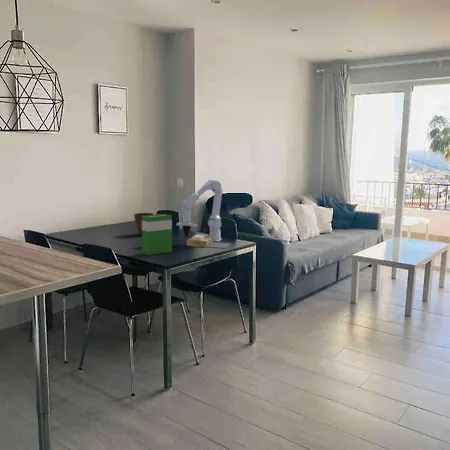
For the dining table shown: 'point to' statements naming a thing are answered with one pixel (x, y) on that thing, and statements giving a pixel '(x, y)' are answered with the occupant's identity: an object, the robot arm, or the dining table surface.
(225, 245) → the charcoal mat
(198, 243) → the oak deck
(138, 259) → the dining table surface
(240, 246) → the dining table surface
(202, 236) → the cream tile
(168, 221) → the green cereal box
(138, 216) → the plant pot
